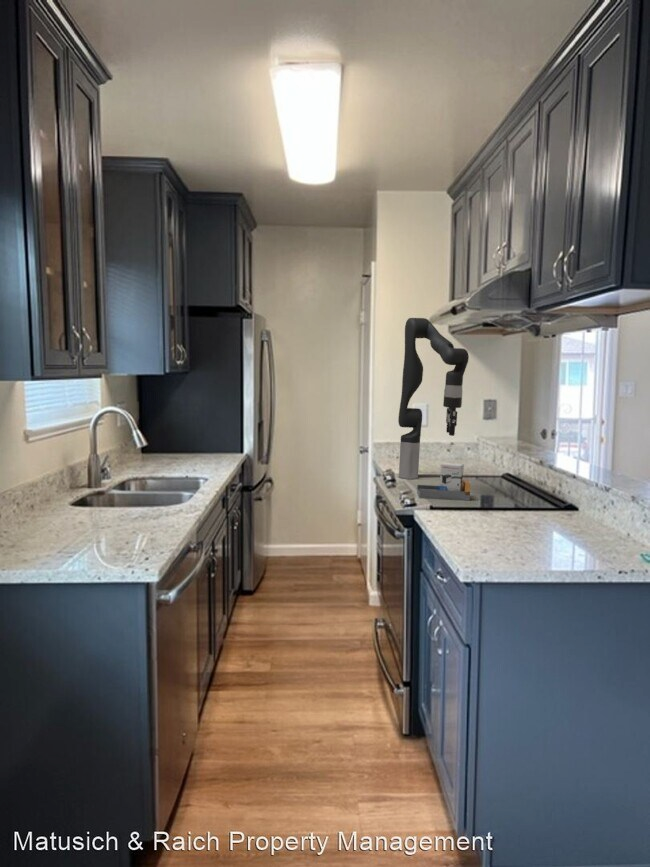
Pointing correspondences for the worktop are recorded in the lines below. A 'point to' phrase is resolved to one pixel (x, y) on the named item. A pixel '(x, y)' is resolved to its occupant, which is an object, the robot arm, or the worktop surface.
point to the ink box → (451, 476)
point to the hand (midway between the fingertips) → (450, 434)
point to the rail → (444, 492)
